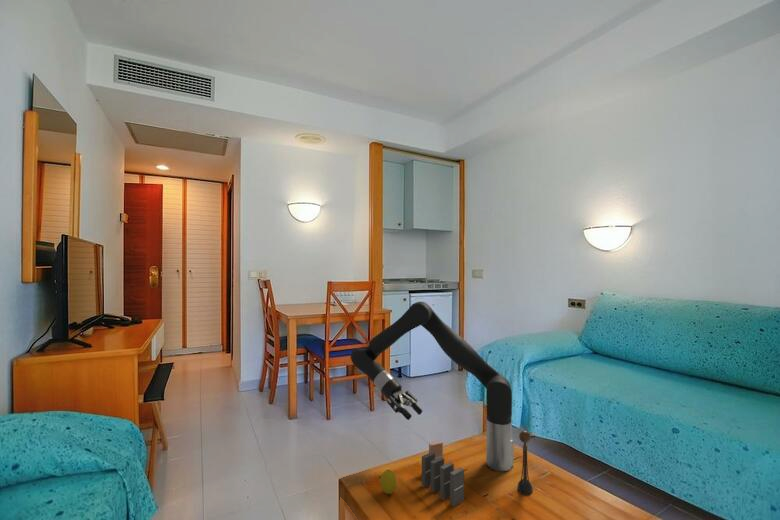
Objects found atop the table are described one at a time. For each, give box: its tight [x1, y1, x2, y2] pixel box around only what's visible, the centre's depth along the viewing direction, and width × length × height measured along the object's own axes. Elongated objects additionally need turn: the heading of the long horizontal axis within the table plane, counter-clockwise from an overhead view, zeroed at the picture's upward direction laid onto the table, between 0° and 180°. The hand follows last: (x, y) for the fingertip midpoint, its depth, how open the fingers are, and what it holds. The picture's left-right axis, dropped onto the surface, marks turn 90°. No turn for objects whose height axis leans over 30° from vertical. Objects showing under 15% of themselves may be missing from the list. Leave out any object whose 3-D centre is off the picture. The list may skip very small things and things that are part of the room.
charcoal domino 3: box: [439, 461, 455, 501], centre depth 120 cm, size 2×5×10 cm, turn 130°
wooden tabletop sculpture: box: [517, 430, 536, 495], centre depth 124 cm, size 6×5×20 cm
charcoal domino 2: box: [430, 457, 445, 494], centre depth 124 cm, size 2×5×10 cm, turn 130°
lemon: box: [379, 469, 398, 495], centre depth 121 cm, size 6×6×8 cm
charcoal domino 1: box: [421, 452, 435, 488], centre depth 127 cm, size 2×5×10 cm, turn 129°
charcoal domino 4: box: [449, 466, 465, 508], centre depth 117 cm, size 2×5×10 cm, turn 130°
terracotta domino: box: [428, 440, 444, 459], centre depth 135 cm, size 2×5×10 cm, turn 115°
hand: (415, 415), depth 137 cm, fingers open, 8 cm apart
